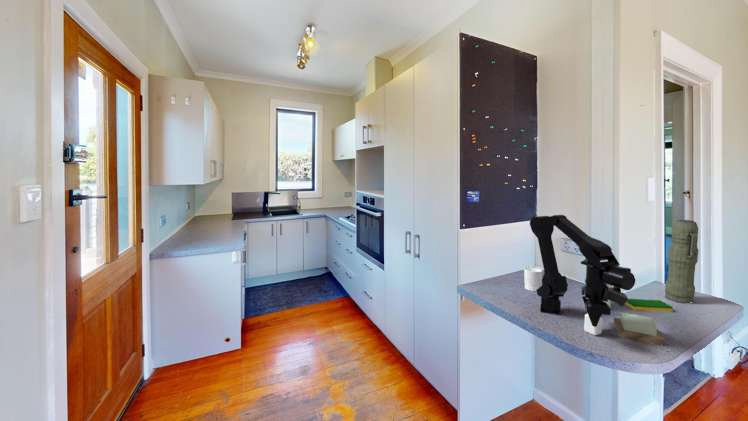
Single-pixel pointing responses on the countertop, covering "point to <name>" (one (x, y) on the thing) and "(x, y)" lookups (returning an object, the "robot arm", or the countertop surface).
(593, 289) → the robot arm
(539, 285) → the white cup
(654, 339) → the tower base block
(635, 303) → the dish sponge
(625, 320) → the tower top block
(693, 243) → the thermos
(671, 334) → the countertop surface
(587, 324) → the pepper shaker
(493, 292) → the countertop surface
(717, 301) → the countertop surface
